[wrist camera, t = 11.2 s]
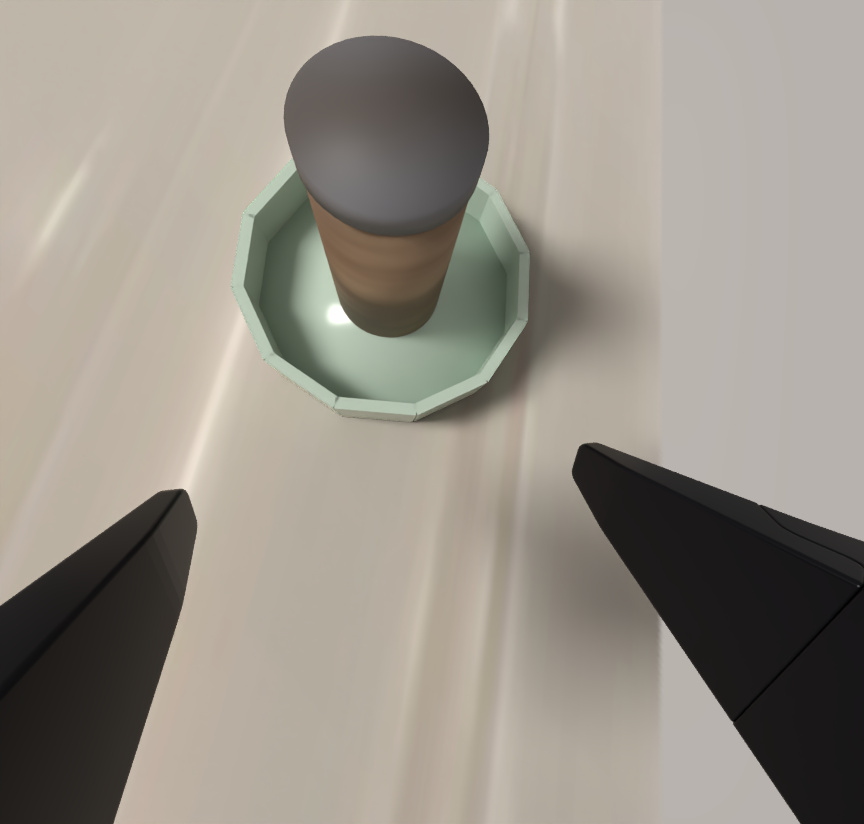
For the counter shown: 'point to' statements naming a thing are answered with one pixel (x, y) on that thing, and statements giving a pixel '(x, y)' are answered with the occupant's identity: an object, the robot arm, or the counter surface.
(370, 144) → the walnut spice jar
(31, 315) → the counter surface
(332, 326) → the sage green dish
